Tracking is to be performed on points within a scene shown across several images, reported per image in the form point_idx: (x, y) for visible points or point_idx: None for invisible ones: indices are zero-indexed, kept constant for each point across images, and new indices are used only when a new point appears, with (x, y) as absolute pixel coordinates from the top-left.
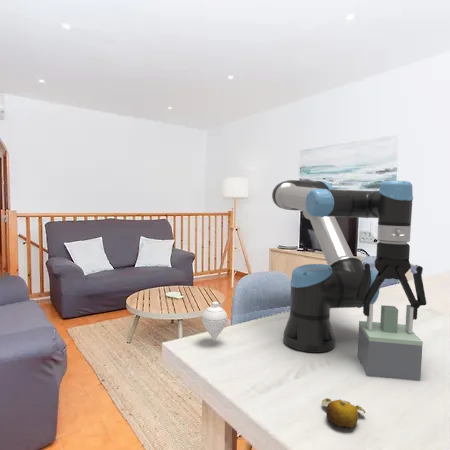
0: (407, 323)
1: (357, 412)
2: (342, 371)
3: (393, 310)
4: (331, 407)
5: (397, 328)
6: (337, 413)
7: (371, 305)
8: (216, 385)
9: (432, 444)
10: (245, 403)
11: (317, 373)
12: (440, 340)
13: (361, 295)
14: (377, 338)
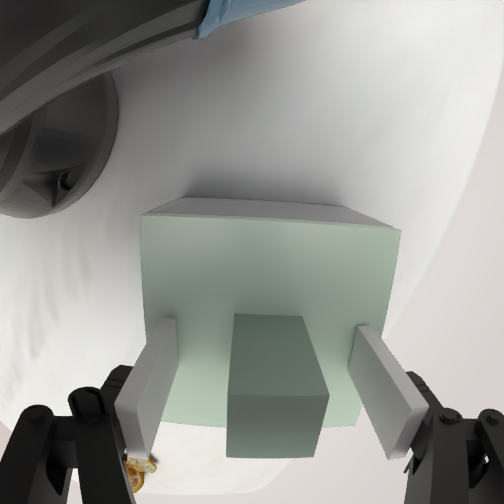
0: (365, 368)
1: (140, 487)
2: (121, 319)
3: (283, 452)
4: None
5: (328, 305)
6: None
7: (138, 455)
8: None
9: (243, 492)
10: (5, 420)
11: (66, 335)
12: (496, 45)
13: (54, 481)
14: (188, 422)
